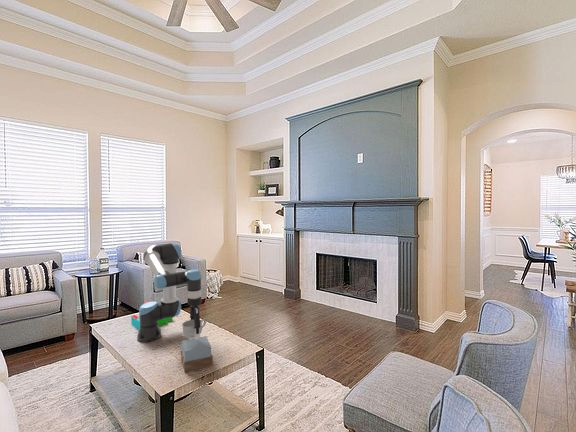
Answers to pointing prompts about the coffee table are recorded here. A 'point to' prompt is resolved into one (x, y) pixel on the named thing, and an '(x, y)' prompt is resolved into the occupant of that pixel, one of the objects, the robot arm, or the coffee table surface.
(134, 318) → the building blocks toy
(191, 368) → the base block
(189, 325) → the teacup
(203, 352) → the top block
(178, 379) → the coffee table surface
